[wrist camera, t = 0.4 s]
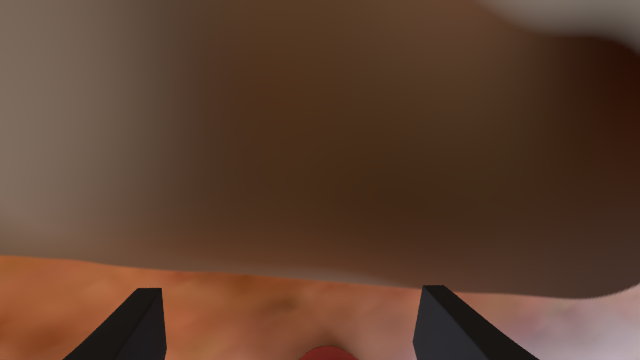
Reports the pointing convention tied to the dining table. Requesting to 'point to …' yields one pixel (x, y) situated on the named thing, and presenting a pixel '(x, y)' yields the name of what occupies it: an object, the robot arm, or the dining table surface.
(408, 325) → the dining table surface
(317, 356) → the beer can
